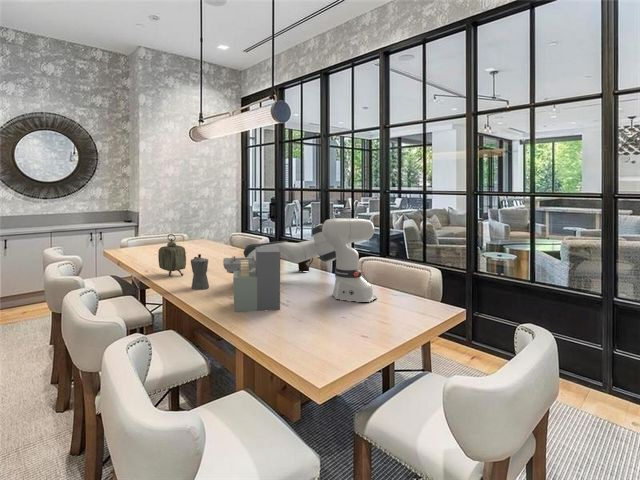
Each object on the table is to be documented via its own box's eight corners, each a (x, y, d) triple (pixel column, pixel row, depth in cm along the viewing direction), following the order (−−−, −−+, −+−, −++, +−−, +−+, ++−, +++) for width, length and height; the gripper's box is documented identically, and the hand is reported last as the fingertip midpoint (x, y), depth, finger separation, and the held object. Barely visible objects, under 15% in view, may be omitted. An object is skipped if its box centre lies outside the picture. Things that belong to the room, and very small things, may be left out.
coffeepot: (213, 289, 209) (212, 255, 206) (194, 291, 203) (194, 256, 201) (203, 283, 221) (203, 251, 219) (186, 285, 216) (185, 252, 214)
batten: (240, 267, 192) (240, 260, 192) (248, 267, 193) (248, 260, 192) (240, 276, 173) (240, 268, 172) (249, 276, 173) (249, 268, 173)
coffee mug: (299, 273, 251) (299, 257, 250) (295, 270, 259) (295, 255, 258) (316, 272, 255) (317, 256, 254) (312, 269, 263) (312, 254, 262)
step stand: (234, 302, 186) (233, 247, 182) (277, 300, 190) (277, 246, 186) (233, 311, 172) (233, 252, 169) (280, 309, 176) (280, 251, 173)
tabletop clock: (186, 276, 238) (185, 234, 234) (173, 278, 230) (172, 235, 227) (170, 272, 245) (169, 232, 242) (157, 275, 238) (156, 233, 234)
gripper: (263, 271, 211) (265, 263, 199) (223, 272, 207) (222, 264, 195) (263, 260, 213) (264, 251, 201) (223, 261, 209) (222, 251, 197)
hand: (243, 257), depth 198 cm, fingers open, 8 cm apart
